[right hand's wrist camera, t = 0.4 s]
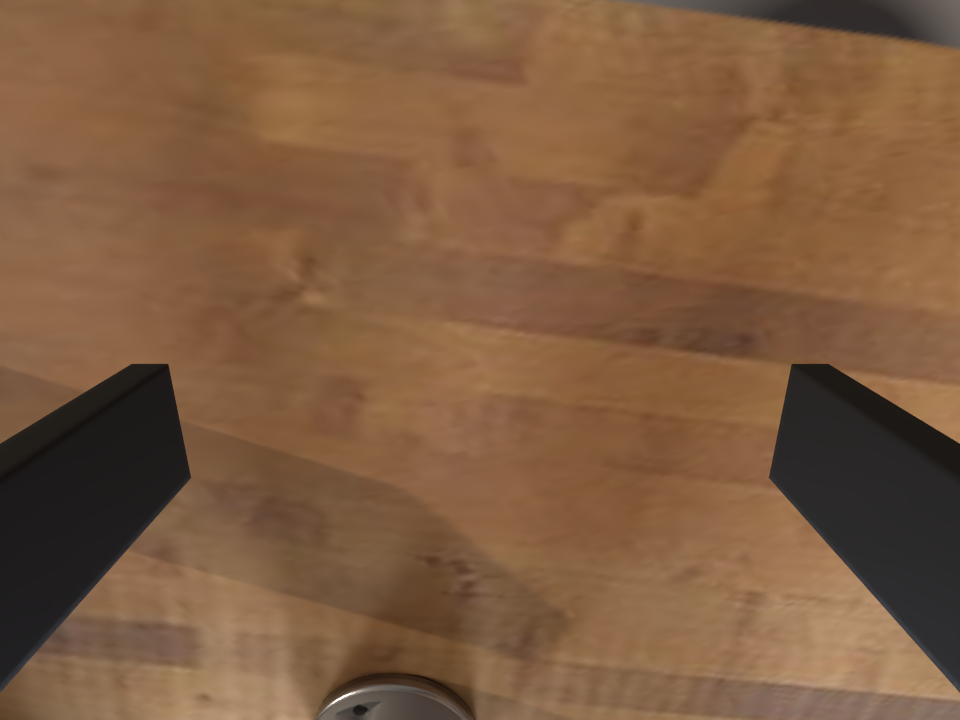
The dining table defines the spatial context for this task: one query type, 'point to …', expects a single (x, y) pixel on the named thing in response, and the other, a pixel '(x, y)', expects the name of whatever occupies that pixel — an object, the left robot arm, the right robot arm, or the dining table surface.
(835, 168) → the dining table surface
